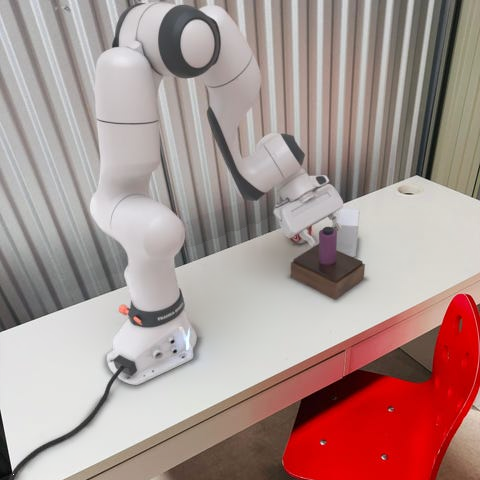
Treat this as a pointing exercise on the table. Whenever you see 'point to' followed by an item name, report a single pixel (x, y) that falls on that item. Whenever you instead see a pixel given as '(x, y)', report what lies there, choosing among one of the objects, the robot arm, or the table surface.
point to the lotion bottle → (327, 245)
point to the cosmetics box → (348, 231)
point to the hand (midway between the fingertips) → (326, 237)
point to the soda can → (298, 239)
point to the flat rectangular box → (328, 272)
